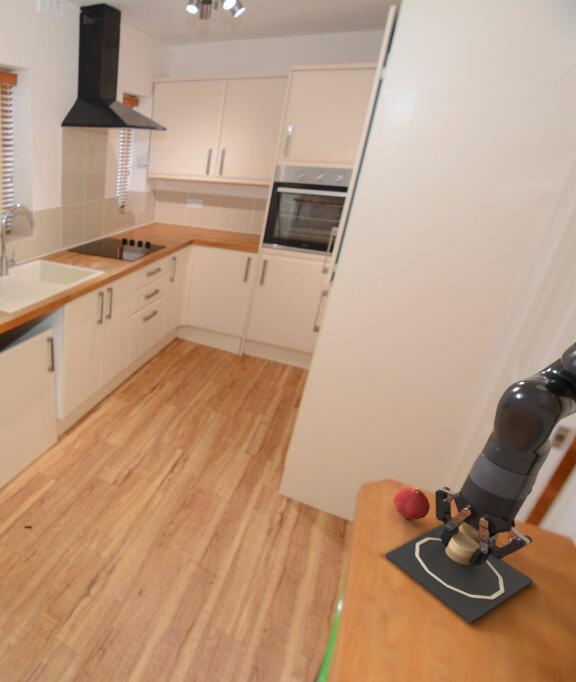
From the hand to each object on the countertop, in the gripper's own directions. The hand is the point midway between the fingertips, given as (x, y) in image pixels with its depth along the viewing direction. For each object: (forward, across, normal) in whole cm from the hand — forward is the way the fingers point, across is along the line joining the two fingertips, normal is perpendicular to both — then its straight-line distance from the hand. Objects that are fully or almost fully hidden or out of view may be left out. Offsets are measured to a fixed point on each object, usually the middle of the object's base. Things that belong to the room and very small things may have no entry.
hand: (460, 552), depth 84 cm
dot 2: (+1, 0, 0) cm, 1 cm away
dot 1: (+2, -2, +9) cm, 9 cm away
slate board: (+2, +1, -3) cm, 3 cm away
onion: (+2, -10, +1) cm, 11 cm away
